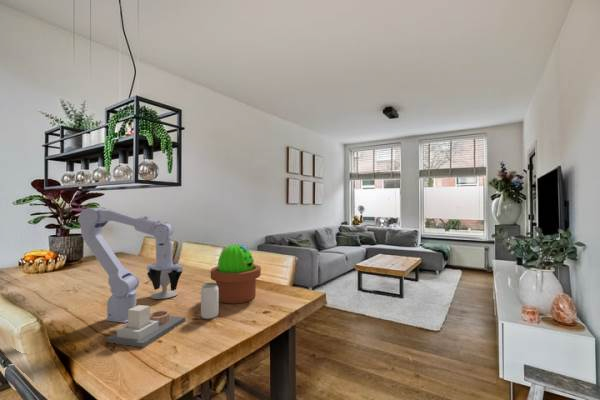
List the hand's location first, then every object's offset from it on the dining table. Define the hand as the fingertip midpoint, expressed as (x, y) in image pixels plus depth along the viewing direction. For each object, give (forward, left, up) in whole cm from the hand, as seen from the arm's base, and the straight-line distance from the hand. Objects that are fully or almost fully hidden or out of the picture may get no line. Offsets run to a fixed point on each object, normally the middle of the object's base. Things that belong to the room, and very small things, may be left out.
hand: (165, 289), depth 112 cm
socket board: (+3, -12, -10) cm, 16 cm away
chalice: (-18, +21, -11) cm, 29 cm away
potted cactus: (+16, +27, -11) cm, 33 cm away
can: (+16, +5, -11) cm, 20 cm away
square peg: (+3, -16, -9) cm, 19 cm away
